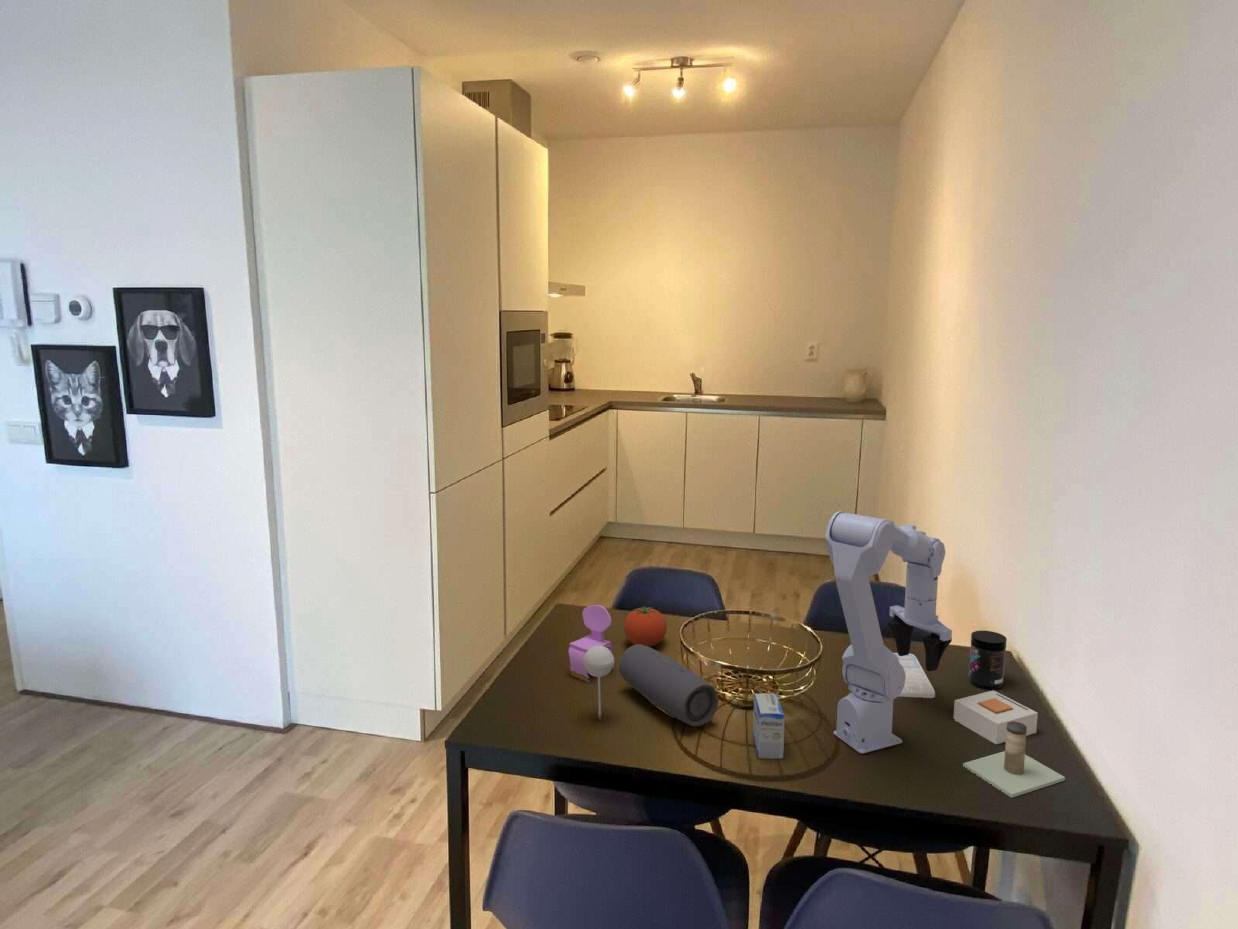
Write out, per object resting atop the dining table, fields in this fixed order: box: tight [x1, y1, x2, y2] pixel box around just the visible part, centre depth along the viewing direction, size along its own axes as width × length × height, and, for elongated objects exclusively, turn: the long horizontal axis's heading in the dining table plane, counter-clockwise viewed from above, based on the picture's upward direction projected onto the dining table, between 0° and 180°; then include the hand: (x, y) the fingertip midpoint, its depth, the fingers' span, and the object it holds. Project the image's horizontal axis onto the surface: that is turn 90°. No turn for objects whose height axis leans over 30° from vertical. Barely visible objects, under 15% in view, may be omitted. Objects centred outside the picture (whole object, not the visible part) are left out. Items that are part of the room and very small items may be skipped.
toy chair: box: [568, 604, 615, 679], centre depth 173 cm, size 8×9×15 cm
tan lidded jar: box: [1004, 722, 1027, 775], centre depth 133 cm, size 3×3×8 cm
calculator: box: [893, 652, 936, 699], centre depth 171 cm, size 13×20×2 cm, turn 172°
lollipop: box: [583, 646, 615, 716], centre depth 153 cm, size 6×6×15 cm
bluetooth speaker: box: [618, 644, 719, 727], centre depth 157 cm, size 23×9×10 cm, turn 32°
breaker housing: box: [953, 689, 1039, 745], centre depth 149 cm, size 10×10×4 cm
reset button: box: [979, 698, 1012, 714], centre depth 149 cm, size 4×4×3 cm
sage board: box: [962, 750, 1066, 799], centre depth 134 cm, size 12×10×1 cm
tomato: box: [623, 605, 668, 648], centre depth 188 cm, size 10×10×10 cm
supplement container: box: [968, 630, 1007, 690], centre depth 166 cm, size 7×7×10 cm
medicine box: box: [752, 693, 785, 760], centre depth 142 cm, size 8×4×9 cm, turn 178°
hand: (917, 662), depth 156 cm, fingers open, 7 cm apart
